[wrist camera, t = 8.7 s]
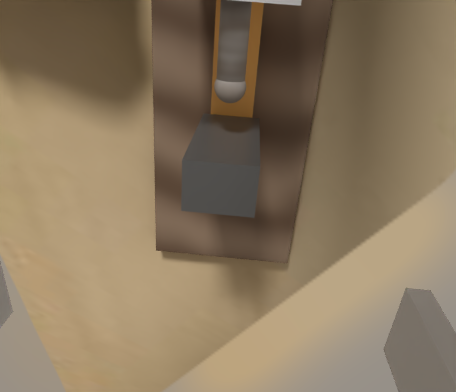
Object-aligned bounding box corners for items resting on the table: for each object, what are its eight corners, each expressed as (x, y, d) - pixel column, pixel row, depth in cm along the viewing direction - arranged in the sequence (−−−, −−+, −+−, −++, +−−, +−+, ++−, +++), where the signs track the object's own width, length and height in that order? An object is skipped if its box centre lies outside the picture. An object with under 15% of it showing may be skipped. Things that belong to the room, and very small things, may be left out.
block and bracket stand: (195, -25, 25) (160, -39, 16) (289, -18, 24) (308, -28, 16) (190, 164, 31) (163, 232, 22) (265, 171, 30) (269, 242, 22)
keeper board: (155, -97, 25) (83, -166, 14) (343, -84, 24) (405, -144, 14) (159, 241, 37) (122, 334, 26) (286, 253, 36) (297, 353, 26)
